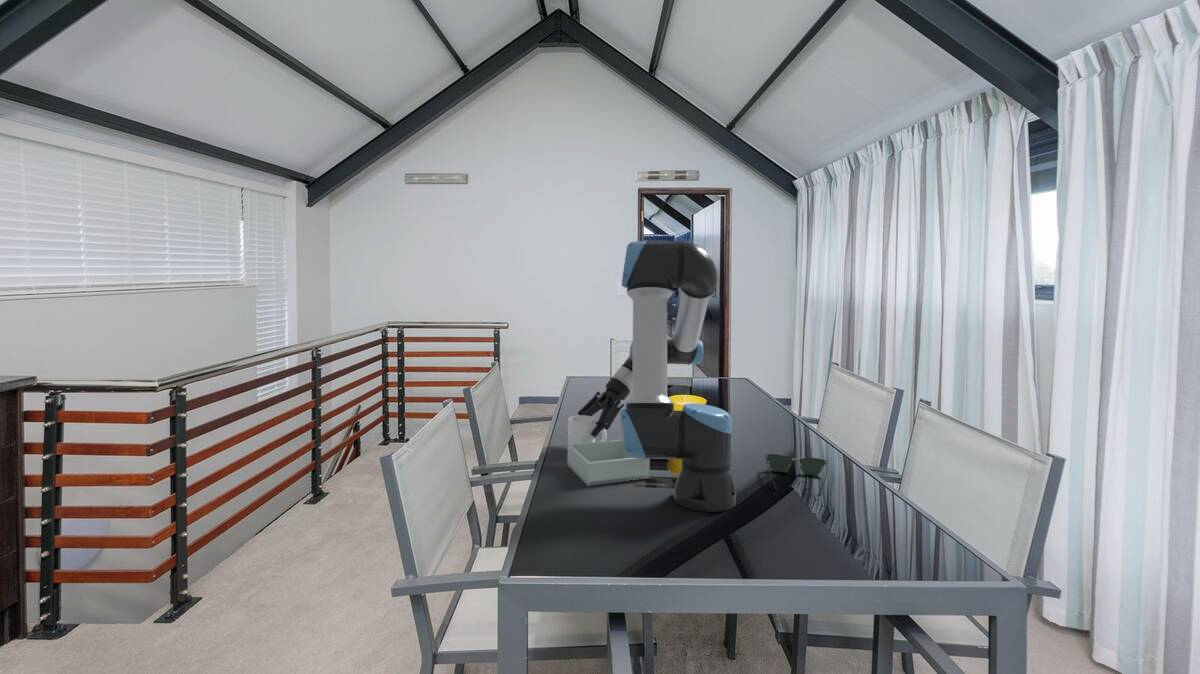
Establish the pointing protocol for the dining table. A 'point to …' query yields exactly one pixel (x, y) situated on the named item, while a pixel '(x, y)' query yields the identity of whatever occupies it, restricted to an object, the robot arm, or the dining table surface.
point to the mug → (581, 428)
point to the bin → (606, 463)
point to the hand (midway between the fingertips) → (577, 439)
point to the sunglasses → (807, 466)
